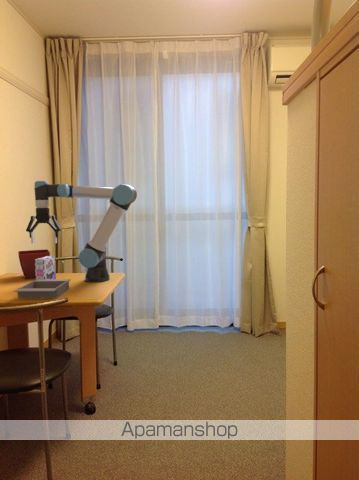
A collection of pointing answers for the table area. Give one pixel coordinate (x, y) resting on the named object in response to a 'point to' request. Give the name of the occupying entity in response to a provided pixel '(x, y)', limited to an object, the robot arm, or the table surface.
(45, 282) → the grey rectangular frame
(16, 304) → the table surface
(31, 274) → the plant pot
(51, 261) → the candy box
